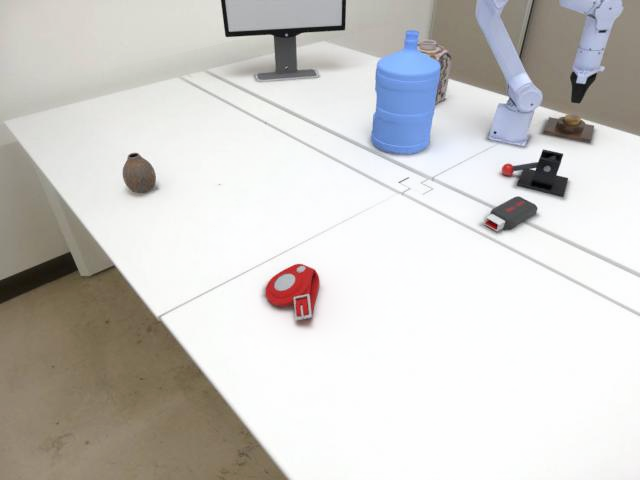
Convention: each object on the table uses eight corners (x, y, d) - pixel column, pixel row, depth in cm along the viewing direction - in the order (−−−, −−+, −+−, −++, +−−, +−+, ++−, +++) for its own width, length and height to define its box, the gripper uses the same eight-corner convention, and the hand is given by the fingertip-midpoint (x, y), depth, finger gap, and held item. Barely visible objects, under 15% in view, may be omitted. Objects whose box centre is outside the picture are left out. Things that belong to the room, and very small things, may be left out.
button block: (542, 134, 127) (545, 123, 125) (547, 120, 134) (551, 111, 132) (589, 143, 123) (593, 133, 121) (592, 129, 129) (596, 119, 127)
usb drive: (535, 214, 97) (539, 203, 95) (500, 235, 91) (504, 224, 90) (514, 203, 100) (518, 192, 99) (479, 222, 95) (482, 211, 93)
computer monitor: (231, 83, 159) (214, -52, 134) (230, 75, 165) (213, -56, 140) (345, 75, 165) (349, -56, 140) (339, 67, 171) (343, -59, 146)
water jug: (441, 146, 121) (461, 34, 104) (395, 161, 115) (408, 45, 98) (403, 125, 132) (415, 20, 114) (359, 138, 125) (365, 29, 108)
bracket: (516, 186, 106) (525, 158, 101) (522, 171, 111) (531, 143, 107) (562, 197, 102) (573, 169, 97) (566, 181, 107) (577, 153, 103)
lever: (501, 178, 109) (499, 167, 108) (504, 173, 111) (501, 162, 110) (556, 170, 102) (553, 159, 101) (557, 165, 104) (555, 153, 103)
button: (562, 124, 126) (564, 118, 125) (564, 118, 129) (566, 113, 128) (578, 127, 124) (580, 121, 123) (579, 121, 127) (581, 115, 126)
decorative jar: (395, 100, 146) (401, 41, 135) (414, 90, 153) (421, 33, 142) (427, 110, 140) (437, 49, 129) (446, 99, 147) (456, 40, 136)
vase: (164, 184, 107) (156, 150, 101) (146, 199, 102) (136, 164, 96) (139, 179, 109) (130, 145, 103) (121, 194, 104) (109, 159, 98)
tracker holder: (251, 291, 78) (289, 252, 82) (262, 307, 80) (298, 269, 85) (300, 316, 70) (339, 271, 74) (310, 333, 72) (347, 289, 77)
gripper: (608, 57, 103) (589, 115, 111) (613, 40, 113) (596, 94, 121) (573, 55, 106) (558, 110, 114) (581, 38, 116) (566, 90, 124)
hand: (575, 102), depth 118 cm, fingers closed
